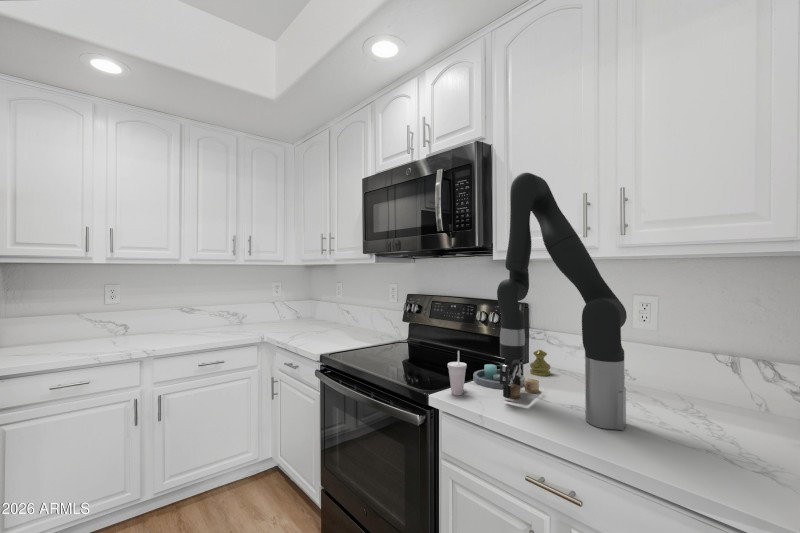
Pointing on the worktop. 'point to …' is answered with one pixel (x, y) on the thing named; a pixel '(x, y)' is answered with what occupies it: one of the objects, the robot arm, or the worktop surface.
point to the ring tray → (491, 380)
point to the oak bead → (531, 386)
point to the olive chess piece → (540, 364)
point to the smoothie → (457, 376)
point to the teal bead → (489, 371)
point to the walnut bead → (515, 391)
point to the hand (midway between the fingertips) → (511, 393)
